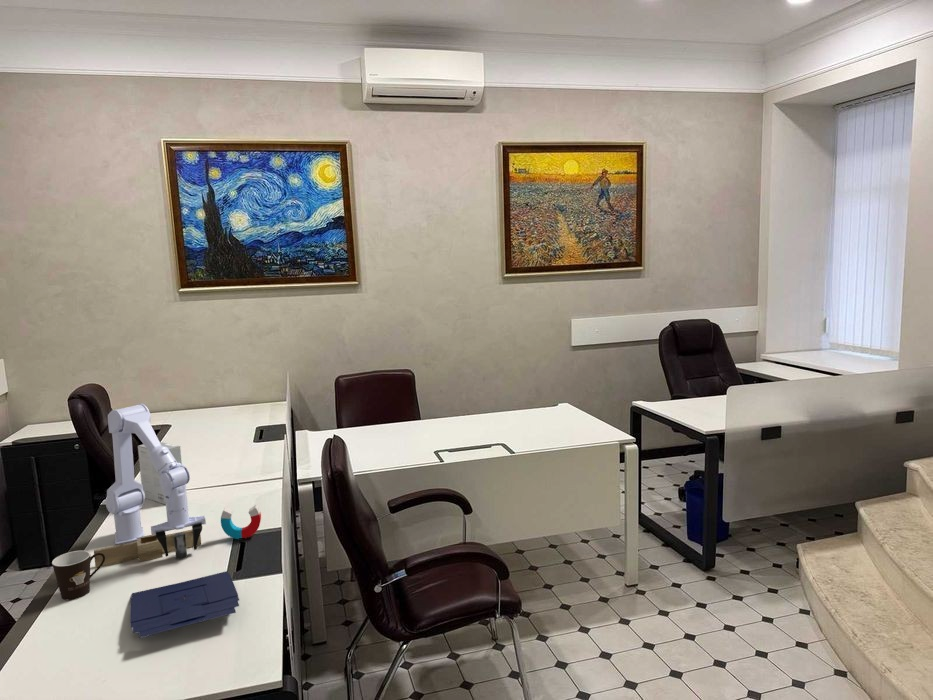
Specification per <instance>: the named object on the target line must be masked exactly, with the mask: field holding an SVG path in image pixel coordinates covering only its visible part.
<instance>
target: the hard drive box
mask: <svg viewBox="0 0 933 700" xmlns="http://www.w3.org/2000/svg"><path fill="white" fill-rule="evenodd" d="M159 442H160V444H161V446H164V447H167V448H168V449H169V451H170V452H171V454H172V455H173V457H174V458H175V460H176V461H177V463H181V465H183V462H182V461H183V460H182V454H181V453H182V452H181V445H176V444H171V443H168V442H164V441H163V442H162V441H159ZM137 453H138V461H139V473H140V483H141V484H142V487H143V491H144V493H145V499H147V500H150V501H153V502H156V503H160V504H163V505H165V506H166V500H165V495H163V491H162V487H161V486H160V483H159V479H160V475H159V474H158V472H157V470H156V469H155V467H154V466H153V464H152V463H151V461H150V459H149V455H150V452H149V450H148V449H147V448H146V447H145V445H144V444H143V443H142V444H140V445H137Z"/></svg>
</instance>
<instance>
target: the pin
mask: <svg viewBox="0 0 933 700" xmlns="http://www.w3.org/2000/svg"><path fill="white" fill-rule="evenodd" d="M175 533H176V534H175V535H174V542H175V551H174V552H175V559H176V560H184V559H186V558H187V556H188V550H187V549H188V548H186V538H185V533H184V532H183V531H179V533H178V532H175Z"/></svg>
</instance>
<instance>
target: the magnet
mask: <svg viewBox="0 0 933 700" xmlns="http://www.w3.org/2000/svg"><path fill="white" fill-rule="evenodd" d="M233 512H234V511H233V510H232V509H230V508H228V507H226V506H225V507H224V508H223V511H222V513H221V515H220V526H221V528H222V530H223V532H224V533H225V534H226V536H228V537H230V538H232V539H235V540H240V539H239V538H245V539H248V538H250V537H252V536H253V535H254V534H256V533H257V531H258V529H259V528H260V525H261V522H262V513H261V510H260V507H259V505H258V504H254V505H253V506H252V507H250V508H249V510H248V515H249V517H250V522H249V524H247V526H245V527H240V526H237V525H235V524H234V522H233V521H232V515H233ZM247 537H248V538H247Z"/></svg>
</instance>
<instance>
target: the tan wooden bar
mask: <svg viewBox="0 0 933 700" xmlns="http://www.w3.org/2000/svg"><path fill="white" fill-rule="evenodd" d="M179 532H180V531H179ZM179 532H174V533H169V534H166V543H167V550H168V553H170V552H175V542H174V535H175V534H176V533H179ZM182 532H184V533H185V538H186V549H188V548H192V547H193V531H192V529H189V530H182ZM201 536H202V535H201V534H200V536H199V539H198V543H197V547H198V546H202V537H201ZM193 548H194V547H193ZM96 553H102V554H104V556H105V561H104V563H103V565H102V566H101V568H102V567H107V566H111V565H115V564H119V563H124V562H130V561H134V560H138V563H143V562H146V561H151V560H154V559H159V558H163V554H165V551H164V549H163V547H162V545H161V544H160V542H159V541H158V539H157V538H156V534H155V535H152V534H148V535H144V536H143V537H138V538H137V540H135V541H131V542H126V543H121V544H115V545H112V546H106V547H103V548H98V549H94V550H93V555H94V554H96ZM93 559H94V566H95V567H94V568H95V569H97V568H98V567H99V565H100V564H101V562H102V560H103V557H102V556H101V555H97V556H95V557H94V558H93Z"/></svg>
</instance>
